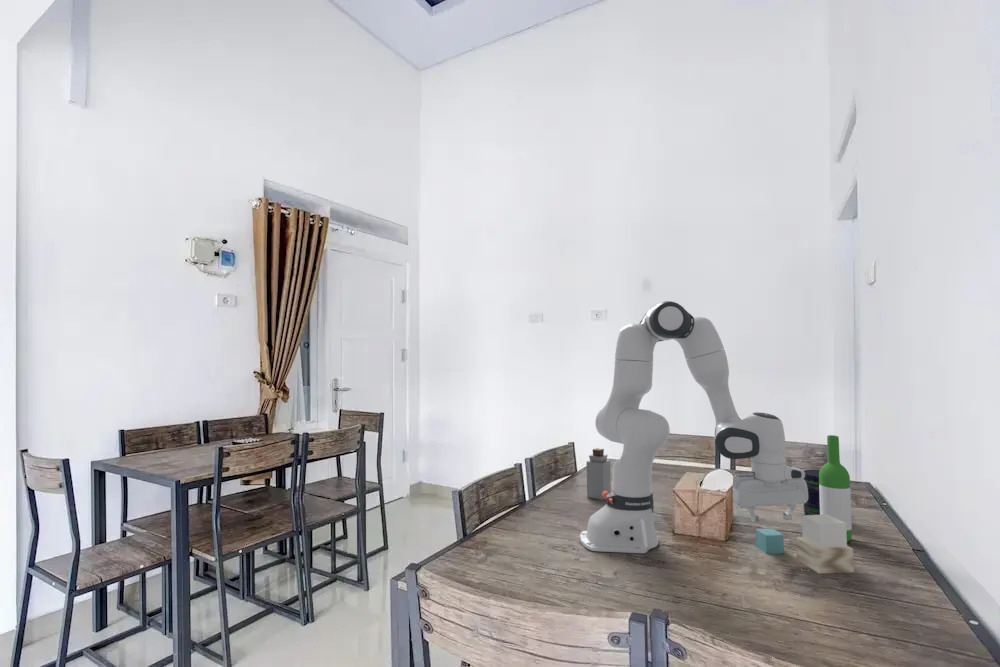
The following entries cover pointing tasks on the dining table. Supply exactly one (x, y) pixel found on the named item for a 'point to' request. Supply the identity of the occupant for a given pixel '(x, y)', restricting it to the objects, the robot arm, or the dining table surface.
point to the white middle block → (824, 531)
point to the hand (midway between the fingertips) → (771, 520)
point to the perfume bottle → (598, 474)
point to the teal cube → (769, 541)
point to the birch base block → (825, 557)
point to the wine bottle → (835, 487)
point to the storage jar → (812, 493)
